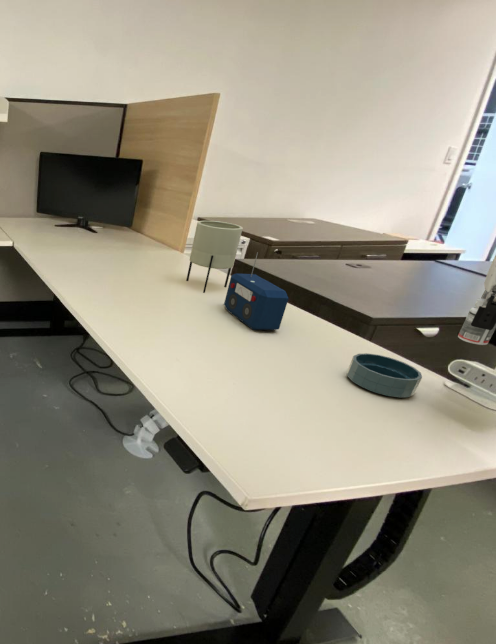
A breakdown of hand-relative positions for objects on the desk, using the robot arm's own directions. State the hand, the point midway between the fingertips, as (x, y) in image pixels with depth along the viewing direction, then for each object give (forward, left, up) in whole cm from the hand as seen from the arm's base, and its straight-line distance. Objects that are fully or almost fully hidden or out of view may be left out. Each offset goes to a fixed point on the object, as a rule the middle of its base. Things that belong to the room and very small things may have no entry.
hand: (480, 323), depth 93 cm
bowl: (+11, +4, -20) cm, 23 cm away
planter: (+84, +5, -20) cm, 86 cm away
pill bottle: (0, 0, -4) cm, 4 cm away
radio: (+52, +10, -20) cm, 57 cm away
